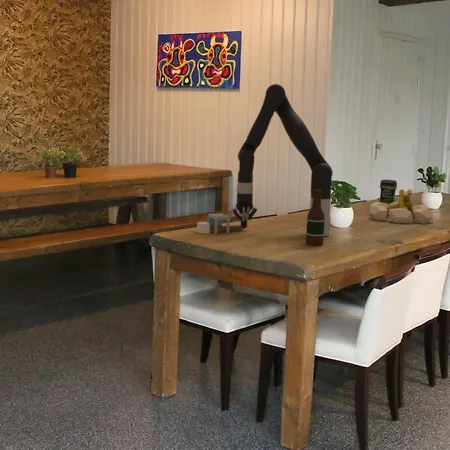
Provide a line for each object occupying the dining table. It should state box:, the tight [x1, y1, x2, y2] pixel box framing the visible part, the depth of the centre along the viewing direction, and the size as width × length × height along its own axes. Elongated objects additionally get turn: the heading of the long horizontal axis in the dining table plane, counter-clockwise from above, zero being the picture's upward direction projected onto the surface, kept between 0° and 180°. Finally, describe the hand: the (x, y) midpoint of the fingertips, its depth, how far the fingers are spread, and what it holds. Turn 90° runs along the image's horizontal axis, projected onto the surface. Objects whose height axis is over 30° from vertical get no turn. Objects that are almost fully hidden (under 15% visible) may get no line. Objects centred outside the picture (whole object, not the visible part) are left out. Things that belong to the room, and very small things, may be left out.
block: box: [196, 221, 211, 234], centre depth 314 cm, size 4×4×4 cm
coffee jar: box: [378, 179, 398, 204], centre depth 402 cm, size 10×8×19 cm
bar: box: [209, 224, 244, 234], centre depth 318 cm, size 3×17×3 cm, turn 114°
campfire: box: [368, 189, 434, 224], centre depth 373 cm, size 35×34×17 cm
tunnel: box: [207, 212, 231, 234], centre depth 317 cm, size 10×7×8 cm
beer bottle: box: [305, 189, 325, 247], centre depth 294 cm, size 8×8×24 cm
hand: (243, 228), depth 323 cm, fingers closed
